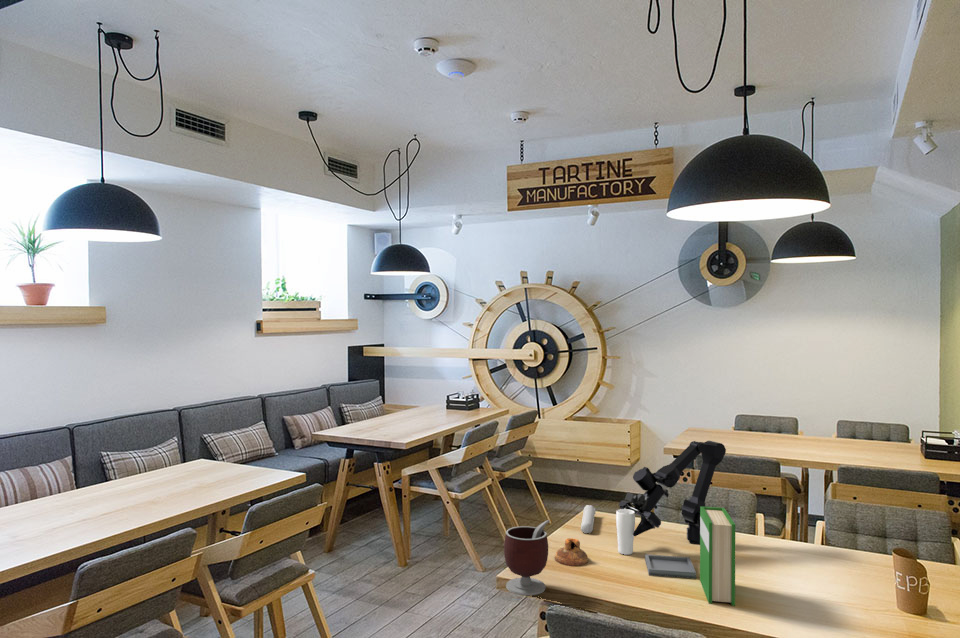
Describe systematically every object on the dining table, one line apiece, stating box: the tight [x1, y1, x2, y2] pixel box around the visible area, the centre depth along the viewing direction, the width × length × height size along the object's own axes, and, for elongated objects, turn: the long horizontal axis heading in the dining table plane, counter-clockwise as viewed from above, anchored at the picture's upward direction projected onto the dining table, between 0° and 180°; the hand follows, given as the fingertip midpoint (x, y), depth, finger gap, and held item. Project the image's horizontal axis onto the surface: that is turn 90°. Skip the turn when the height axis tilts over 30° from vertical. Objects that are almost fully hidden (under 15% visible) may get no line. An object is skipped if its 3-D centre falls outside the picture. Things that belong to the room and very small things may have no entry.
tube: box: [580, 504, 596, 534], centre depth 262 cm, size 5×5×25 cm
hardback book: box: [699, 506, 736, 607], centre depth 196 cm, size 18×7×24 cm, turn 169°
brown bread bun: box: [553, 537, 589, 567], centre depth 222 cm, size 12×12×7 cm
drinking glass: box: [615, 508, 636, 556], centre depth 230 cm, size 7×7×15 cm
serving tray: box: [644, 553, 697, 580], centre depth 214 cm, size 15×14×2 cm
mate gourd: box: [503, 519, 550, 597], centre depth 199 cm, size 16×14×20 cm
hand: (625, 531), depth 230 cm, fingers open, 9 cm apart
